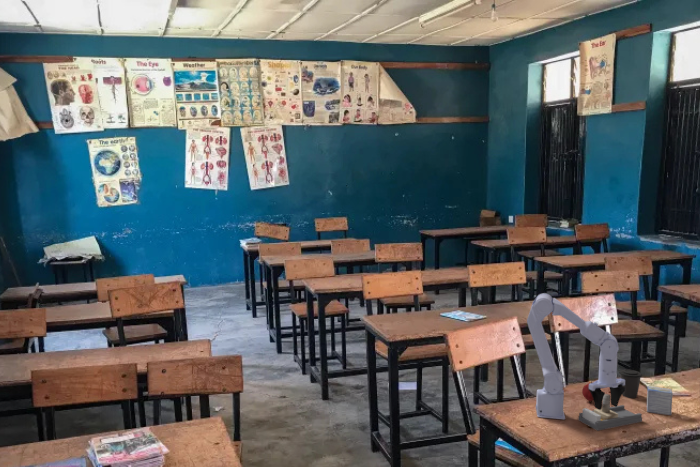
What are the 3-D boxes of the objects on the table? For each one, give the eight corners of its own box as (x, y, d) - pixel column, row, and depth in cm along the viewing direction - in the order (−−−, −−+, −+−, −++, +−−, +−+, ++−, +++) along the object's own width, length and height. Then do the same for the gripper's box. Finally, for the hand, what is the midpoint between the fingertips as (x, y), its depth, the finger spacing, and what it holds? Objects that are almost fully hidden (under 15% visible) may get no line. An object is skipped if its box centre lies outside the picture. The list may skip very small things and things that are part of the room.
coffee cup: (623, 390, 230) (624, 366, 229) (644, 395, 224) (645, 371, 223) (614, 395, 224) (615, 370, 223) (636, 401, 218) (637, 376, 217)
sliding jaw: (606, 421, 197) (607, 399, 196) (593, 414, 202) (594, 393, 202) (617, 419, 198) (618, 397, 198) (604, 412, 204) (605, 391, 203)
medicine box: (670, 411, 209) (671, 388, 208) (671, 416, 205) (672, 392, 204) (646, 407, 212) (647, 385, 212) (646, 412, 208) (648, 389, 207)
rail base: (597, 430, 194) (597, 418, 193) (578, 420, 202) (578, 407, 202) (641, 421, 201) (642, 409, 200) (621, 411, 209) (622, 399, 208)
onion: (600, 404, 215) (601, 384, 215) (585, 404, 216) (586, 384, 215) (594, 398, 221) (595, 378, 220) (579, 398, 221) (580, 378, 221)
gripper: (600, 376, 192) (598, 414, 194) (632, 370, 197) (631, 408, 199) (584, 369, 199) (583, 406, 200) (617, 364, 204) (615, 400, 205)
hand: (606, 407), depth 200 cm, fingers open, 7 cm apart
